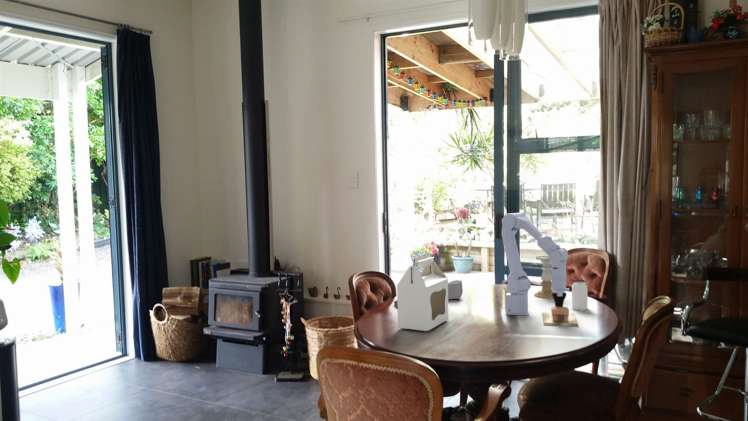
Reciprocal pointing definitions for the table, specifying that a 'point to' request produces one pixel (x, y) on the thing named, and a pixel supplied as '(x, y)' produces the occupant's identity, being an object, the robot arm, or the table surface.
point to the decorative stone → (455, 289)
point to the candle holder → (545, 279)
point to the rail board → (559, 320)
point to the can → (579, 296)
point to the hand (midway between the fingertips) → (559, 310)
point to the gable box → (422, 296)
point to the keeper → (560, 312)
